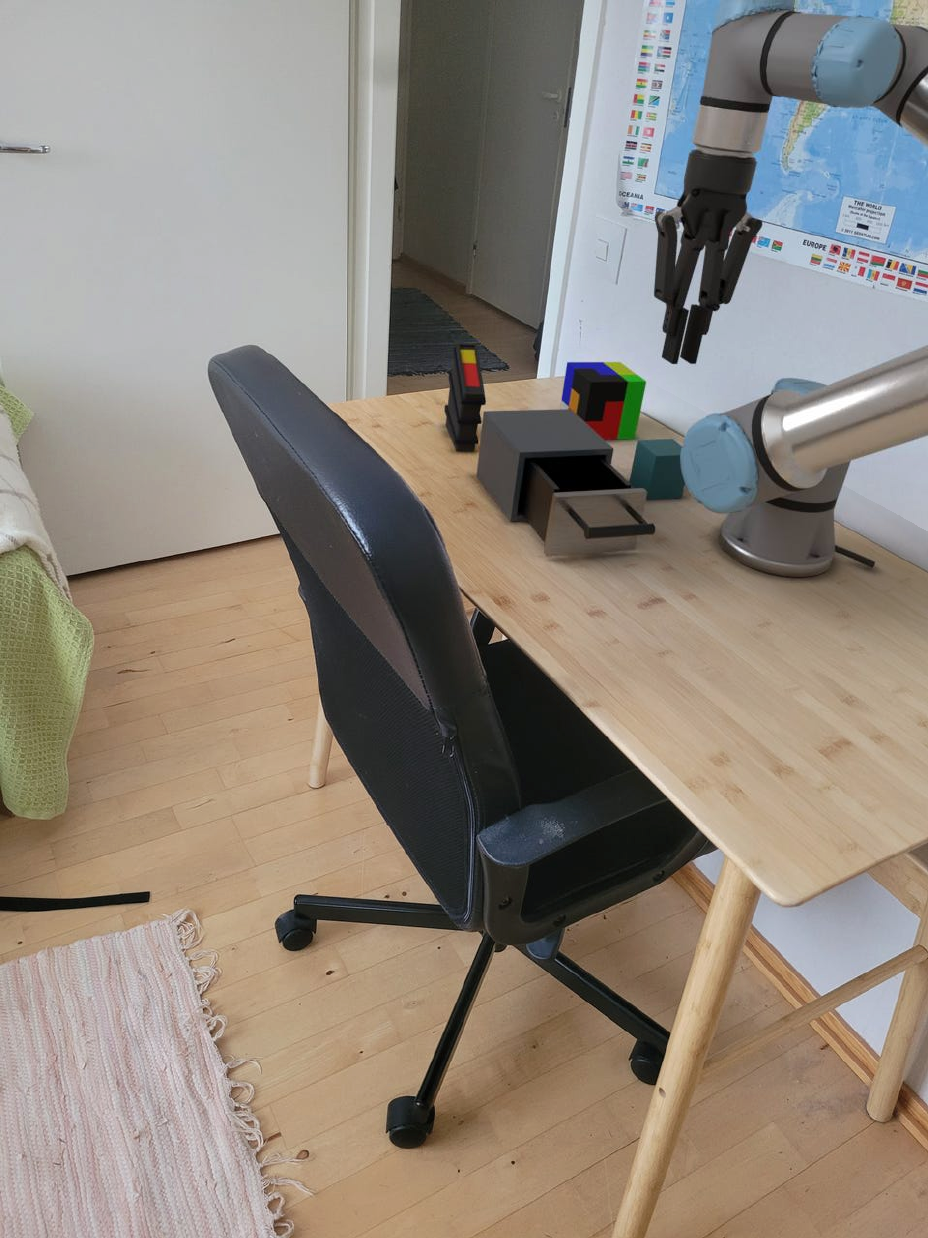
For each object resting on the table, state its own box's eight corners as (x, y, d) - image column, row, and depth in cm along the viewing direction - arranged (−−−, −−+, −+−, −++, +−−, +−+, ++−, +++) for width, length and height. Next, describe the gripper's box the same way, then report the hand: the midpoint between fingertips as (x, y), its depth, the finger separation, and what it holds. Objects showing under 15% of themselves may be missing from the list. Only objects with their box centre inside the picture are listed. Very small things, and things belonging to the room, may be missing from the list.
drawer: (658, 574, 120) (672, 514, 116) (566, 582, 116) (577, 520, 112) (592, 504, 136) (602, 449, 131) (510, 509, 132) (517, 452, 127)
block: (663, 480, 148) (672, 438, 144) (682, 497, 143) (692, 454, 139) (628, 482, 146) (637, 439, 142) (646, 499, 141) (656, 455, 137)
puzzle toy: (558, 418, 167) (567, 362, 161) (610, 416, 170) (620, 361, 164) (581, 440, 159) (591, 382, 153) (634, 438, 162) (646, 381, 156)
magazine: (462, 410, 161) (478, 342, 148) (472, 470, 154) (489, 404, 141) (441, 409, 160) (454, 341, 147) (449, 470, 153) (464, 403, 141)
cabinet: (600, 516, 135) (613, 448, 129) (510, 522, 131) (519, 452, 125) (560, 472, 147) (570, 408, 141) (476, 476, 142) (483, 411, 137)
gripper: (762, 150, 111) (715, 350, 123) (648, 142, 106) (611, 351, 119) (800, 160, 105) (746, 369, 118) (681, 152, 100) (638, 371, 113)
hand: (678, 359), depth 118 cm, fingers open, 2 cm apart
